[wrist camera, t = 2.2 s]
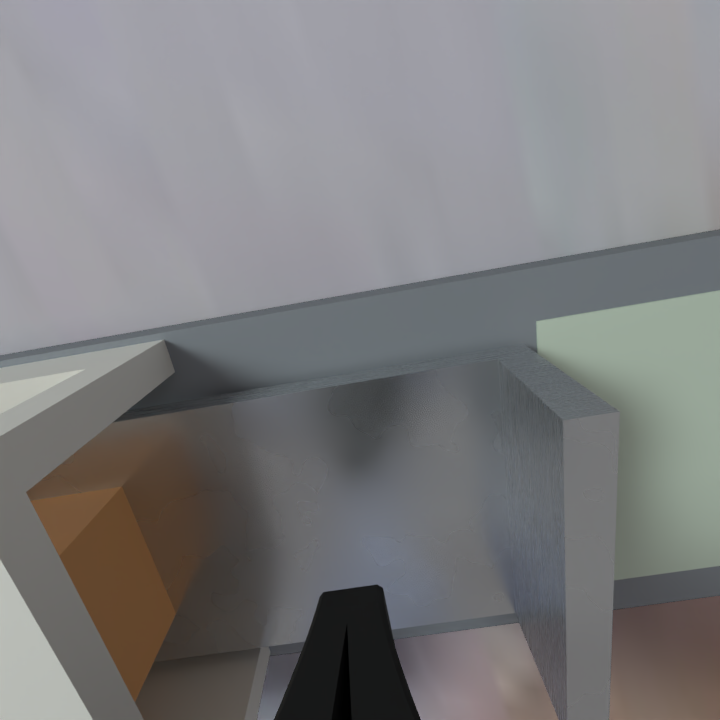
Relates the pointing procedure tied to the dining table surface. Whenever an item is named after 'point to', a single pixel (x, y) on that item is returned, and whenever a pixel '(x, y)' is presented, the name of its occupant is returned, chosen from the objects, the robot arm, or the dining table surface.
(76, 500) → the block
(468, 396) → the sled
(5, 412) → the tunnel
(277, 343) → the track base
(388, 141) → the dining table surface
